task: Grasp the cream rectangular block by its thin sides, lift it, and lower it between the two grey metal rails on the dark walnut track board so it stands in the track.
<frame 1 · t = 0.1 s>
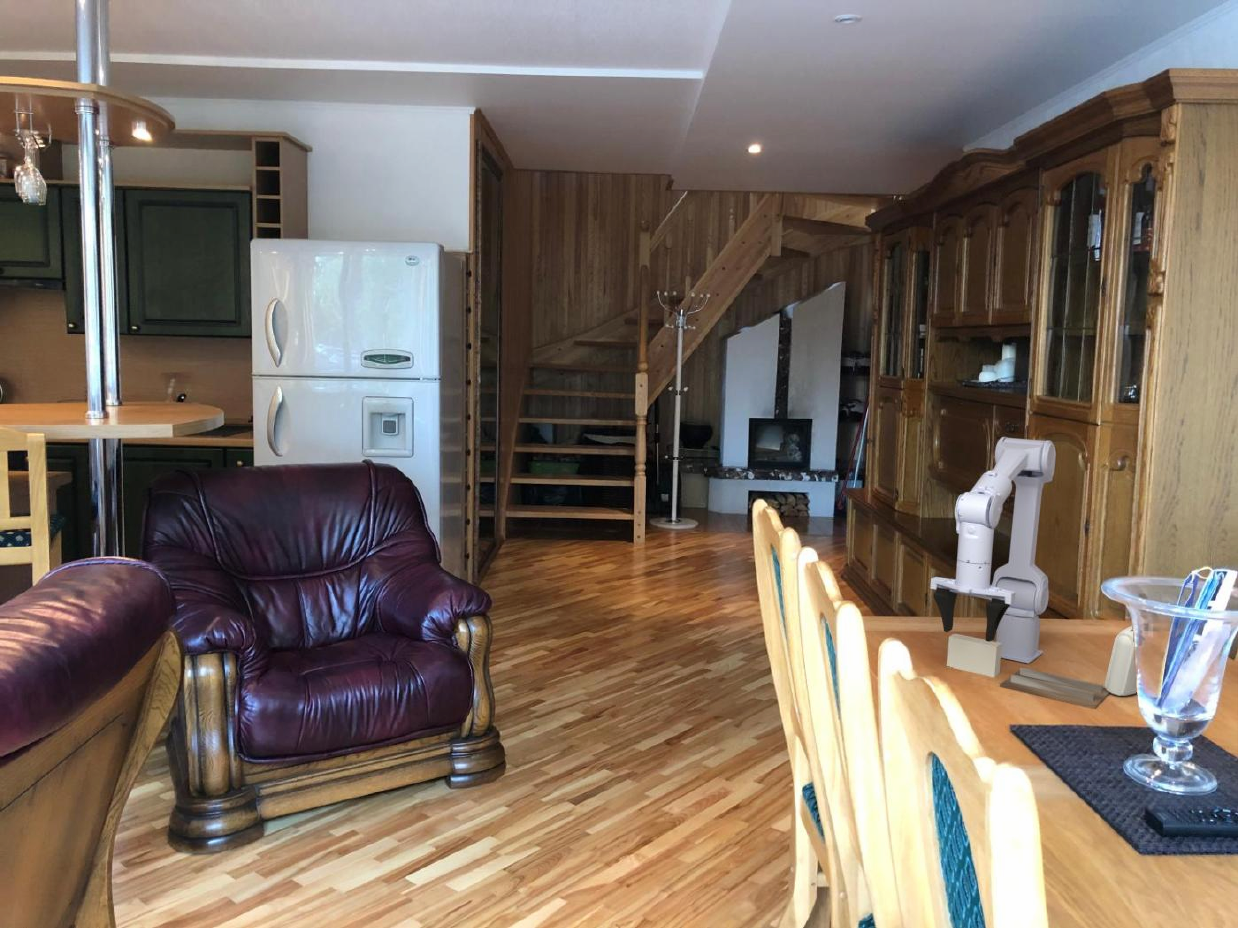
hand: (968, 635, 174), 10 cm above the table, tool pointing down, fingers open, 7 cm apart
track board: (1055, 688, 177), on the table
photo printer: (1126, 690, 177), on the table, touching track board
cream rectangular block: (972, 670, 186), on the table
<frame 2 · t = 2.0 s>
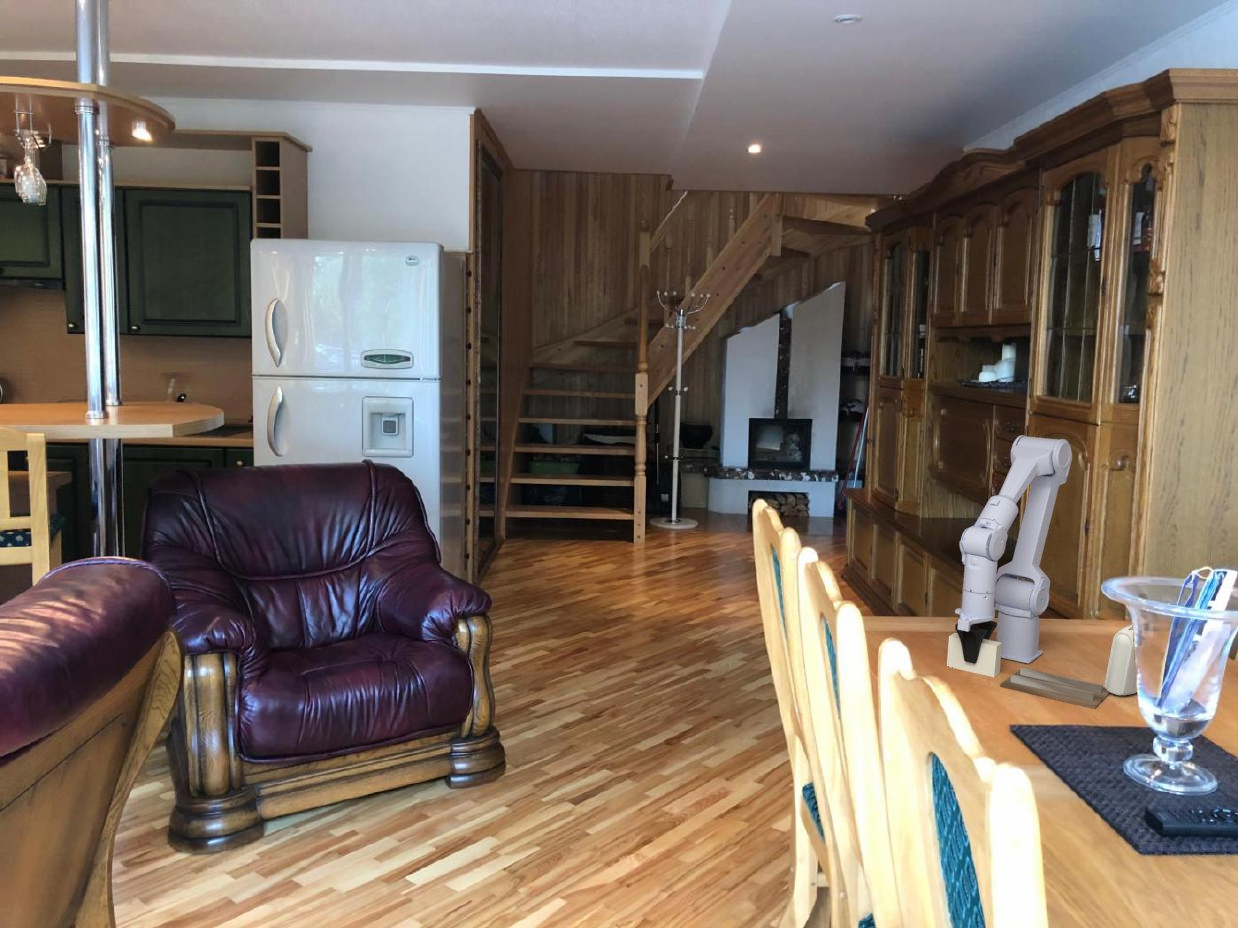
hand: (973, 659, 186), 2 cm above the table, tool pointing down, fingers closed on cream rectangular block, 3 cm apart
cream rectangular block: (972, 669, 186), on the table, touching gripper
everything else where it was.
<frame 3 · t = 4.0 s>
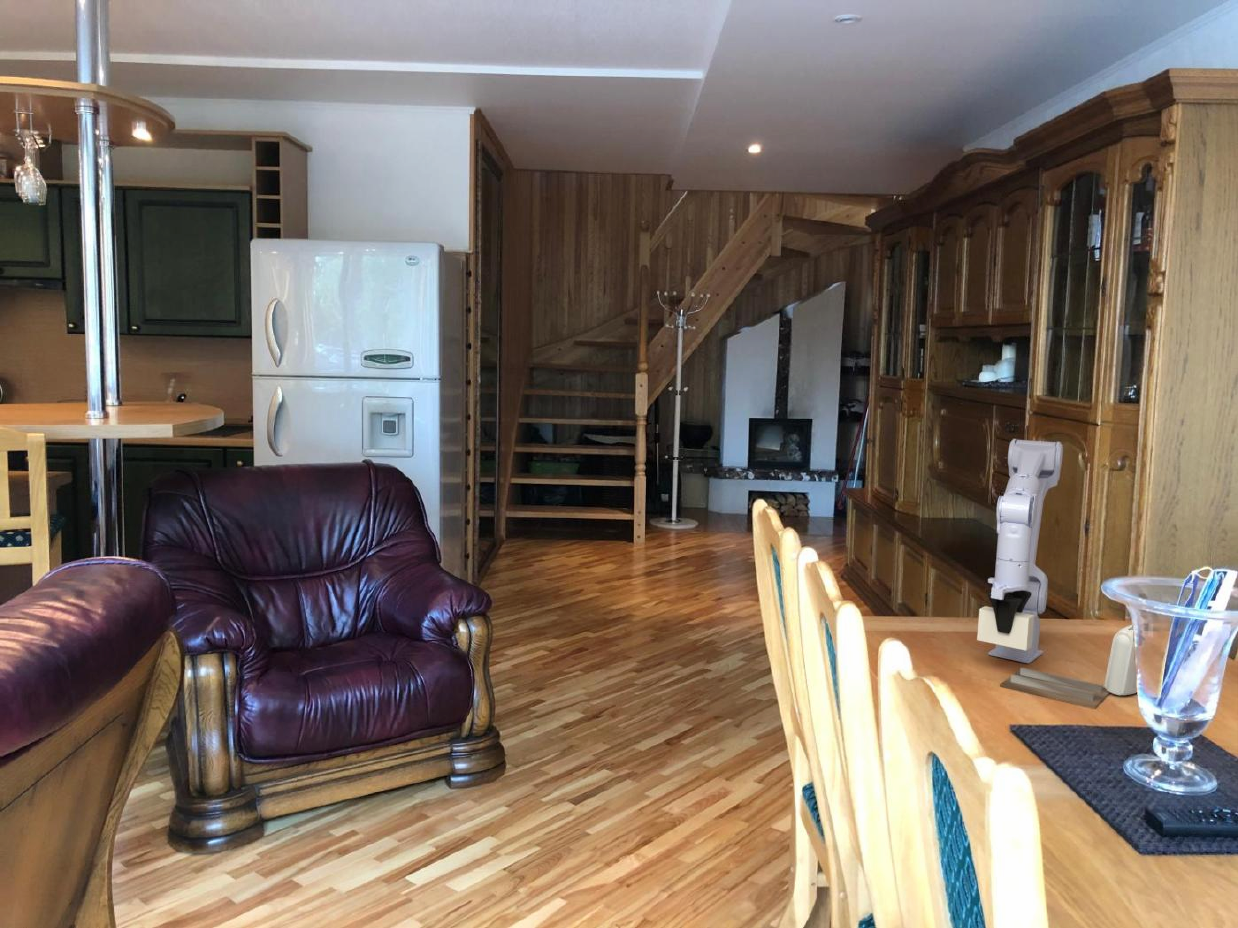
hand: (1007, 630, 181), 9 cm above the table, tool pointing down, fingers closed on cream rectangular block, 3 cm apart
cream rectangular block: (1004, 643, 182), point 6 cm above the table, touching gripper
everything else where it was.
when the fingers open (4 cm above the table, at t = 6.1 s): cream rectangular block stays where it is, resting on track board.
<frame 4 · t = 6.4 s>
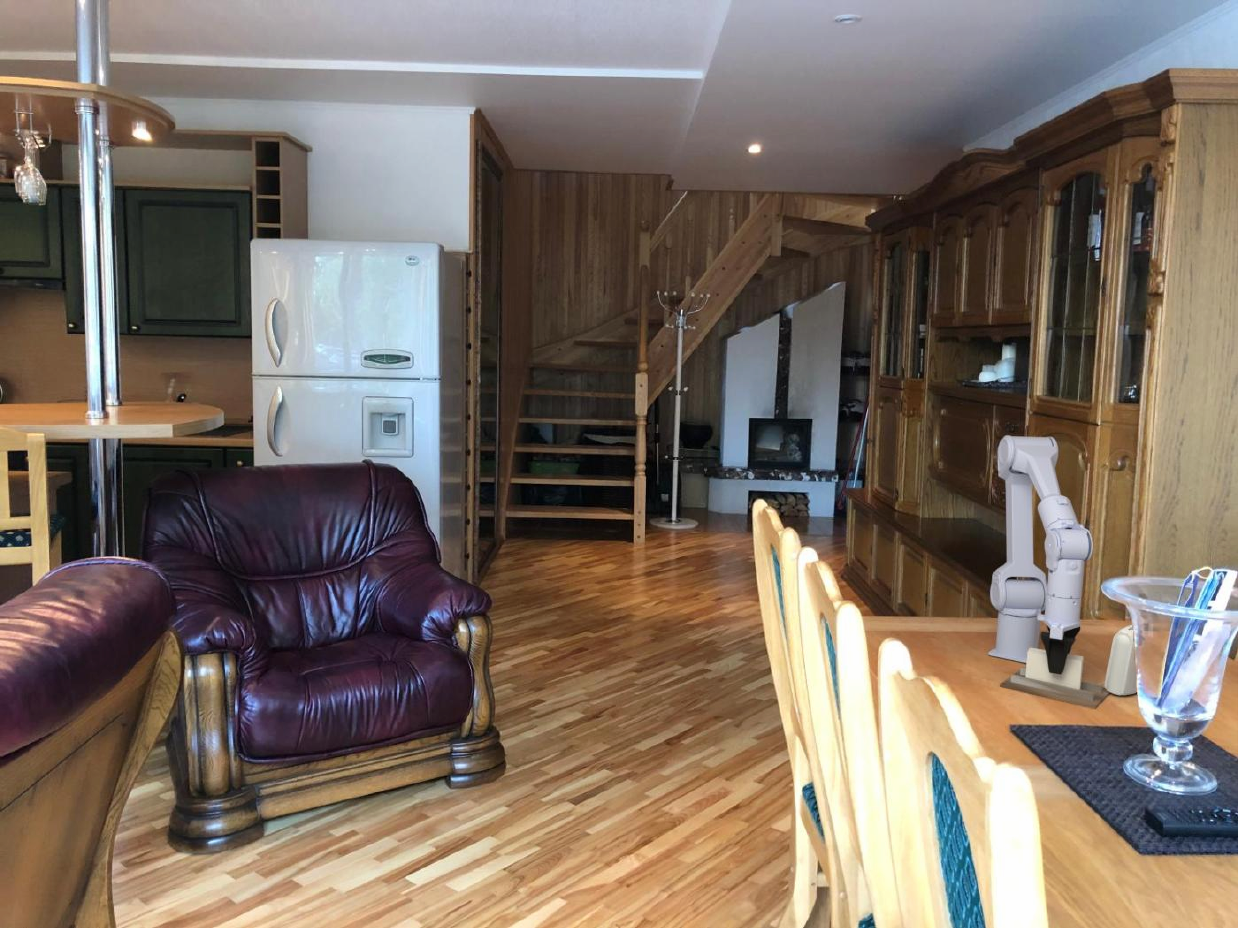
hand: (1057, 668, 176), 4 cm above the table, tool pointing down, fingers open, 6 cm apart
cream rectangular block: (1052, 685, 177), resting on track board
everything else where it was.
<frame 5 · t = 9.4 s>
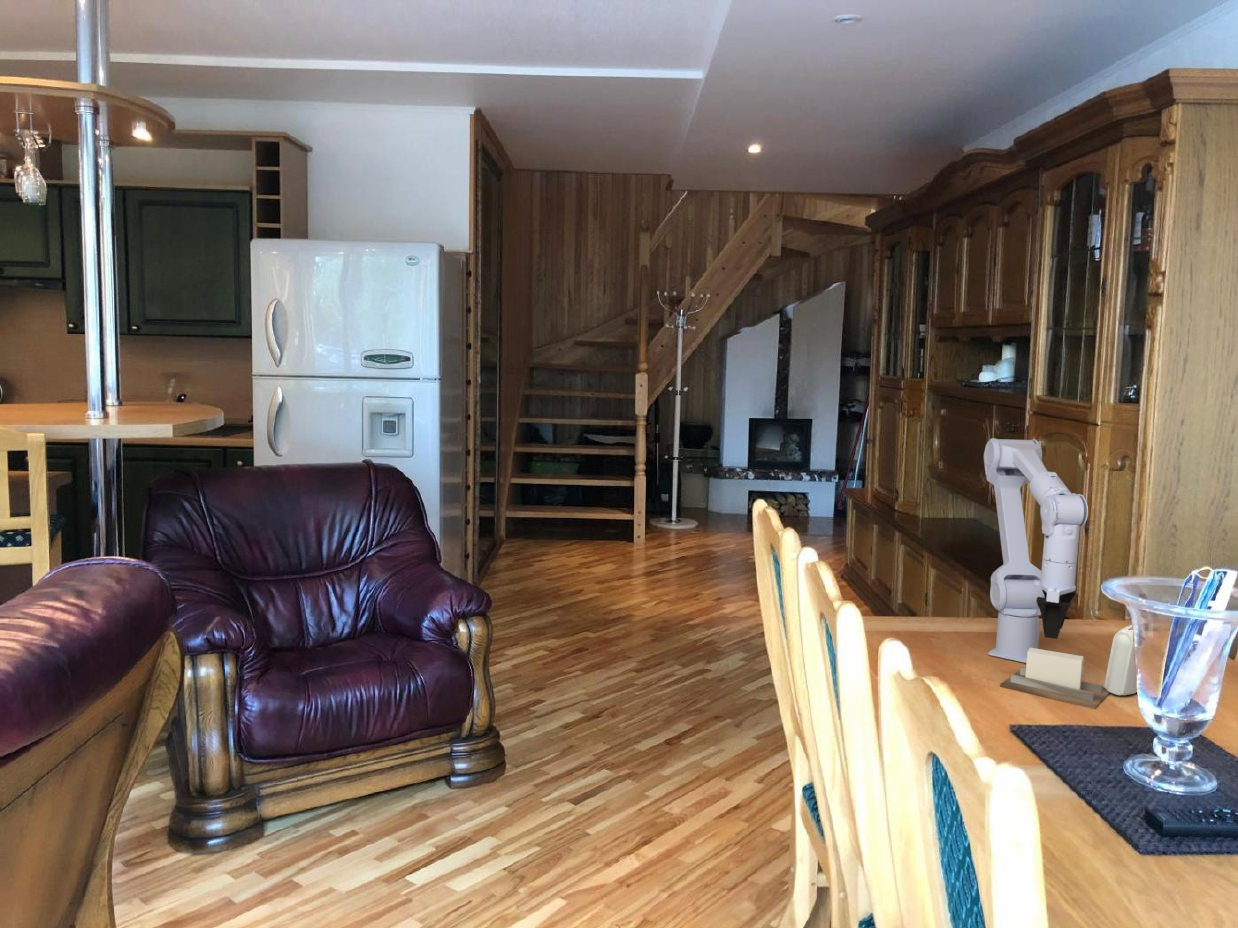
hand: (1053, 632, 179), 9 cm above the table, tool pointing down, fingers open, 7 cm apart
nothing on the table moved.
at the end: cream rectangular block 0.6 cm off-centre on the track board, point 0.4 cm above the track board's base; cream rectangular block tilted 0°; the gripper is holding nothing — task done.
